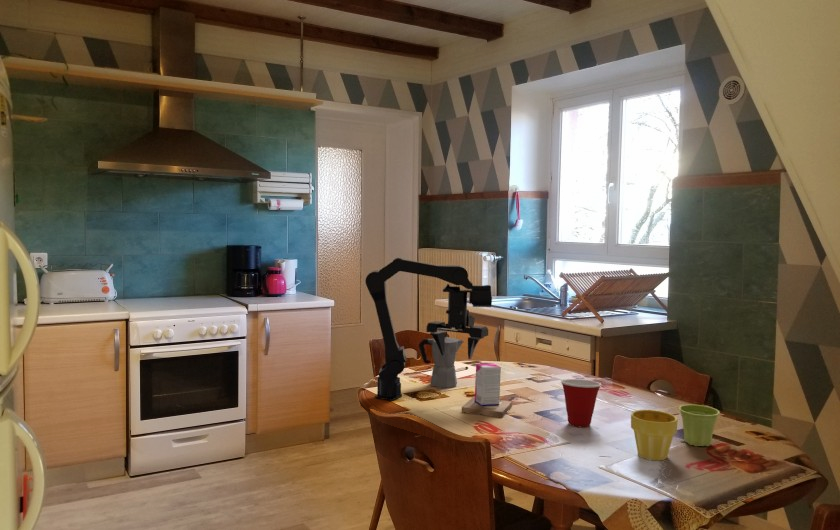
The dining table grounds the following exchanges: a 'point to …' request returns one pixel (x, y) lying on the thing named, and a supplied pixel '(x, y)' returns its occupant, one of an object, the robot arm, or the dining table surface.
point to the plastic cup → (580, 400)
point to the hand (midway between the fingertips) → (456, 357)
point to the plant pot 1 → (653, 433)
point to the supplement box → (487, 384)
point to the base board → (487, 408)
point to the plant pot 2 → (698, 424)
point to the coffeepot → (442, 361)
